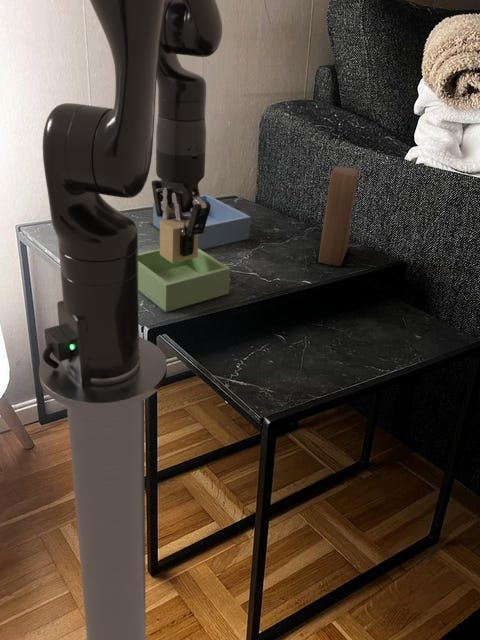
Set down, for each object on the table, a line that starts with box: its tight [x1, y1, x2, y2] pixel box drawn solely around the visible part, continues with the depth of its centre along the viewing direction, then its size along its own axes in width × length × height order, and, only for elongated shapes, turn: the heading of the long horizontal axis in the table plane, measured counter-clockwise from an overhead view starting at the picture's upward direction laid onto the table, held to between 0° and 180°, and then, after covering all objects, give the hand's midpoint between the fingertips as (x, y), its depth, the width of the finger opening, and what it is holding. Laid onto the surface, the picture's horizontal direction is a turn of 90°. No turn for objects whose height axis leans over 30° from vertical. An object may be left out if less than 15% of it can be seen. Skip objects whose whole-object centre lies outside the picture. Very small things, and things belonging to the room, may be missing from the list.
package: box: [159, 218, 199, 264], centre depth 101 cm, size 5×4×6 cm
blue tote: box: [152, 193, 252, 251], centre depth 126 cm, size 14×16×5 cm
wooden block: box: [318, 165, 360, 267], centre depth 117 cm, size 9×4×18 cm, turn 163°
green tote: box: [138, 248, 231, 313], centre depth 104 cm, size 13×13×5 cm
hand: (178, 249), depth 102 cm, fingers closed on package, 4 cm apart
